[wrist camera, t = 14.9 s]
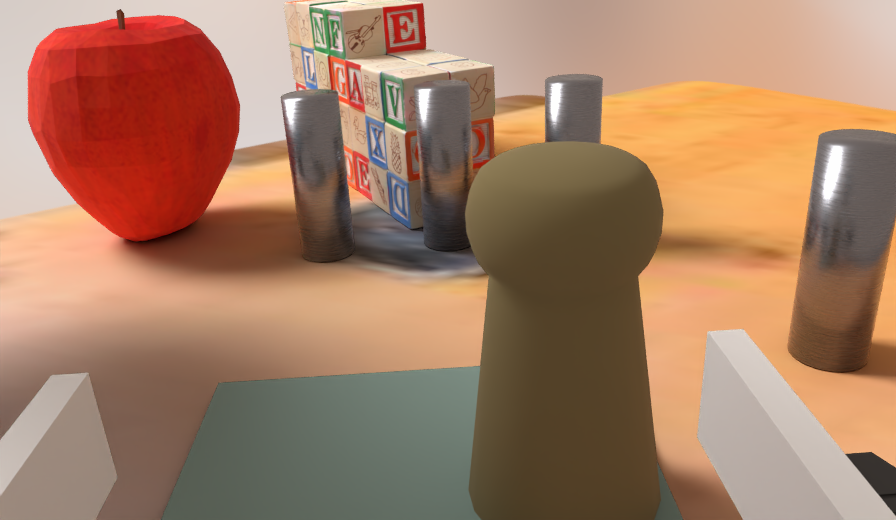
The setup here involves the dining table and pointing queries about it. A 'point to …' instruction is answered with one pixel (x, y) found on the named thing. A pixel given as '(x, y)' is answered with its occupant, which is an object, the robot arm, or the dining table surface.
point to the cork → (564, 334)
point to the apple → (135, 120)
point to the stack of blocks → (383, 90)
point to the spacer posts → (579, 119)
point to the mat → (339, 450)
